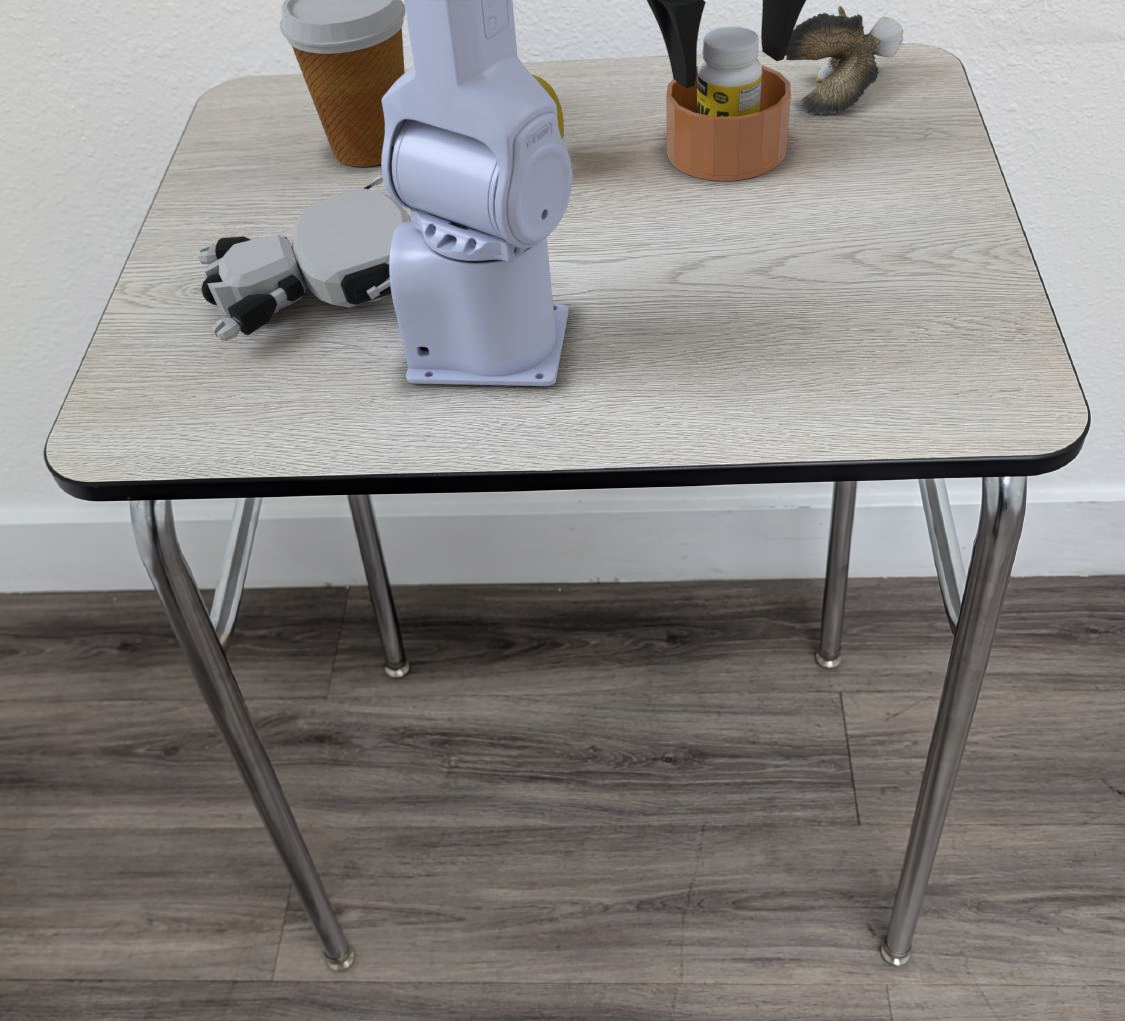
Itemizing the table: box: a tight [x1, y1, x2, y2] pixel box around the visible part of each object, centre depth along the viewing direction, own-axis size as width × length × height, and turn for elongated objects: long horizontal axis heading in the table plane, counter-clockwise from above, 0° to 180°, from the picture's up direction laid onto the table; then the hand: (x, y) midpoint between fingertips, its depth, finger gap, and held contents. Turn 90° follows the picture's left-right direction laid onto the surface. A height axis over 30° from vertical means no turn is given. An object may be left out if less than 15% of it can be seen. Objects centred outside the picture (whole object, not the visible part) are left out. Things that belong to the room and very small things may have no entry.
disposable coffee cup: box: [279, 0, 406, 168], centre depth 87 cm, size 10×10×12 cm
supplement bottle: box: [697, 26, 762, 117], centre depth 83 cm, size 5×5×8 cm
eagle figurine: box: [785, 5, 904, 115], centre depth 90 cm, size 8×7×9 cm
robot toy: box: [197, 175, 412, 342], centre depth 76 cm, size 12×4×15 cm
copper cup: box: [665, 64, 792, 182], centre depth 85 cm, size 9×9×5 cm
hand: (728, 68), depth 82 cm, fingers open, 7 cm apart
